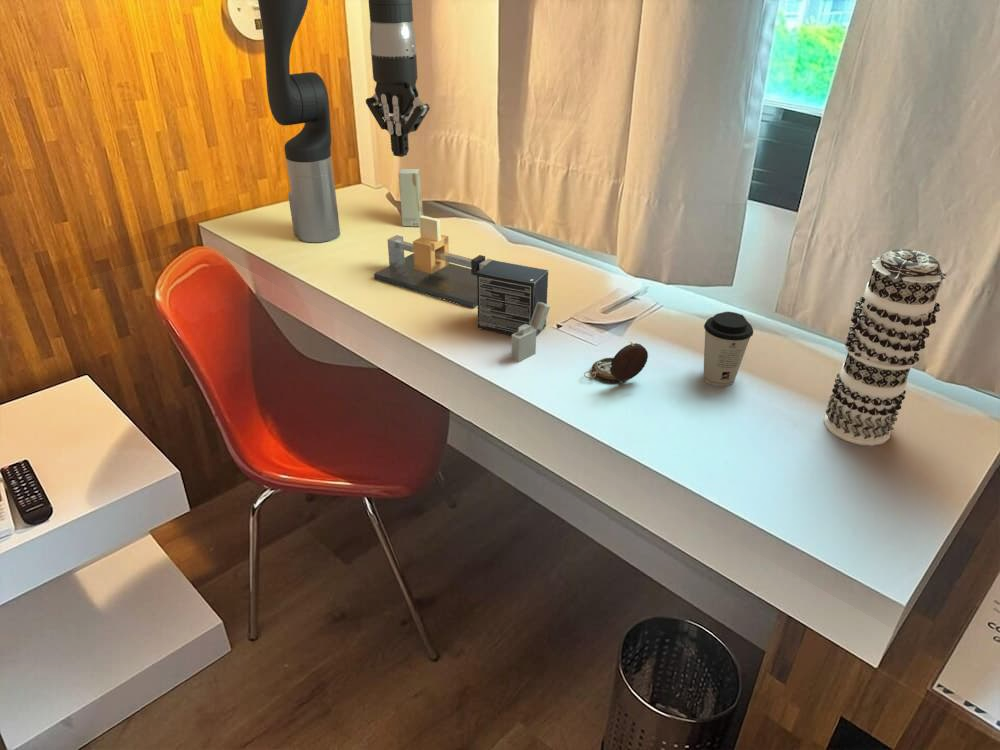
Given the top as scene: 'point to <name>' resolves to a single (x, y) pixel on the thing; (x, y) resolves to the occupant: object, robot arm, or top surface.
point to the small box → (509, 296)
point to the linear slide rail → (442, 283)
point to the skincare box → (410, 197)
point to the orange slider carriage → (429, 246)
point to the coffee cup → (725, 347)
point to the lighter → (528, 334)
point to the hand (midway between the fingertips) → (400, 155)
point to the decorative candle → (884, 345)
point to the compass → (621, 364)
